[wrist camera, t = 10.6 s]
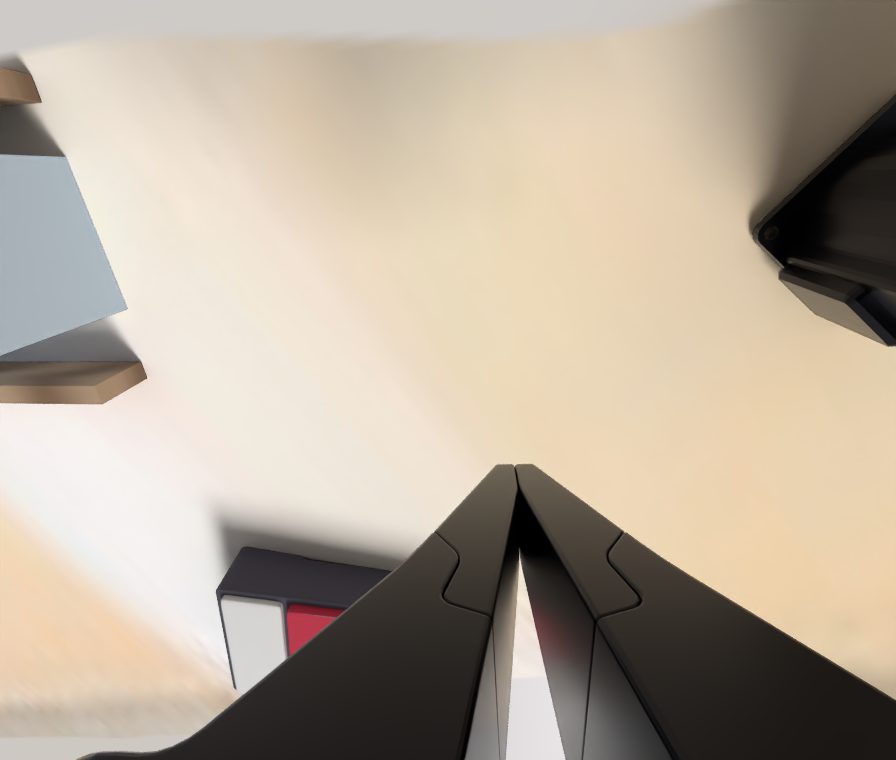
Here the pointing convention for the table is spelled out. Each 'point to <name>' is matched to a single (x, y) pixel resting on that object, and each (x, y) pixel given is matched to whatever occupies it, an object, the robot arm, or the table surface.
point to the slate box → (48, 254)
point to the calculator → (281, 606)
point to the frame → (58, 377)
